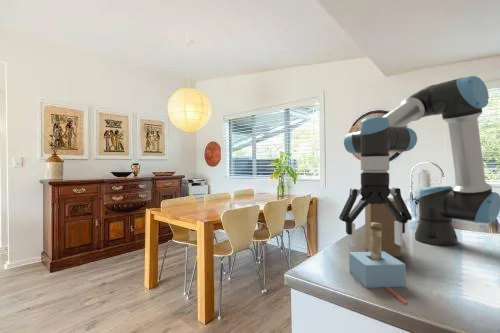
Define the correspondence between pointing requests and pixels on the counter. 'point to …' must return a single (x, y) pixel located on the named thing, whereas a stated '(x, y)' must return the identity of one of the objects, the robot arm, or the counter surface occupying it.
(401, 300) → the thin red rod
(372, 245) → the tan brown rod
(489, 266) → the counter surface
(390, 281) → the blue block with hole
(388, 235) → the wooden block
